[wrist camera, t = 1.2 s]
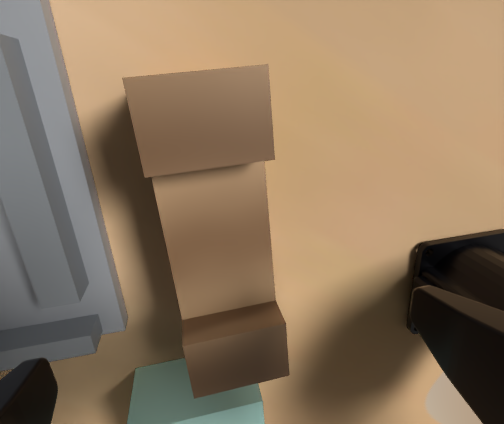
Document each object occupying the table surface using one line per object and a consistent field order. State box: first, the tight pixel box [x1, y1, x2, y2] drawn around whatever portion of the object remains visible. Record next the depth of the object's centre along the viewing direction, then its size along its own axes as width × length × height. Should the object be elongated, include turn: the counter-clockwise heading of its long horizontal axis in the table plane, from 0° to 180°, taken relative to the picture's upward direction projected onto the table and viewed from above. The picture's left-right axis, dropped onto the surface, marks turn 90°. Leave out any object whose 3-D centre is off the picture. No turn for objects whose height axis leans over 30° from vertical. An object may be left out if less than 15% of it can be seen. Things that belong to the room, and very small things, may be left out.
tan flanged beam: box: [122, 64, 289, 399], centre depth 14 cm, size 12×4×6 cm, turn 5°
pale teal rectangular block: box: [127, 358, 265, 424], centre depth 18 cm, size 6×4×4 cm, turn 94°
